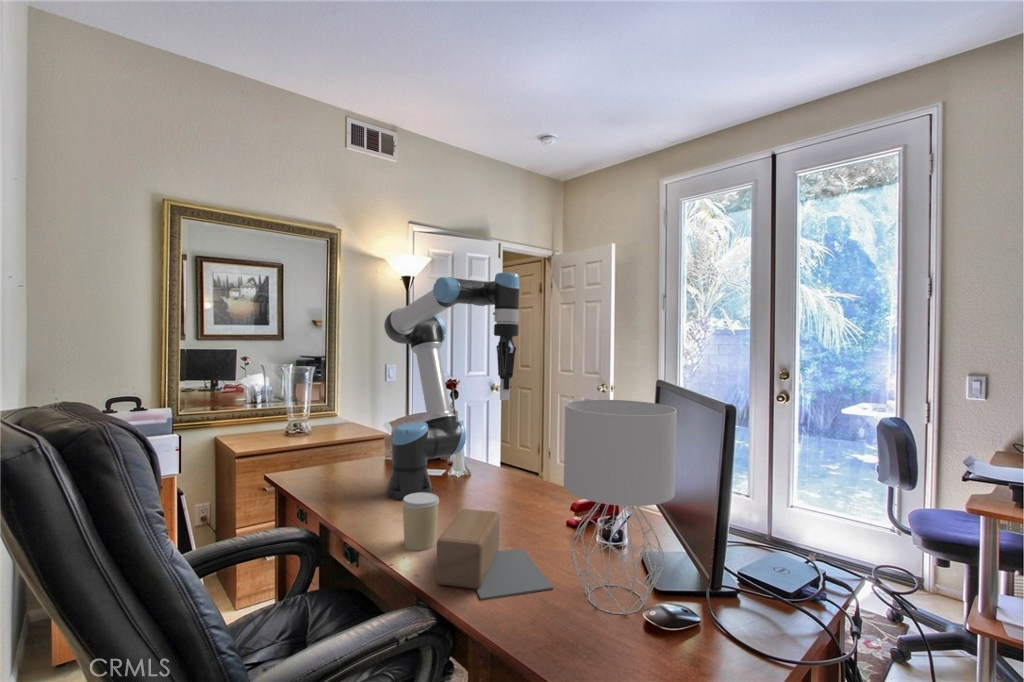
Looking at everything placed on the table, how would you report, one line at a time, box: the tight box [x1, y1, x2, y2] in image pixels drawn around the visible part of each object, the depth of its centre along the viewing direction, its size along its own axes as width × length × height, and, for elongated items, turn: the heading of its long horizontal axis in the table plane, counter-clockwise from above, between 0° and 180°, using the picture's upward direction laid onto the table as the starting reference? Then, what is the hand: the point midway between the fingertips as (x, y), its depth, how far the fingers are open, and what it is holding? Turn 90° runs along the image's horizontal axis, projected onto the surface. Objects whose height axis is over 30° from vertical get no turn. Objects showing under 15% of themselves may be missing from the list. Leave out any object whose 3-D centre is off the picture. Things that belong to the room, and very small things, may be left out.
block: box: [435, 508, 500, 590], centre depth 113 cm, size 10×10×20 cm
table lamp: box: [563, 399, 678, 616], centre depth 101 cm, size 22×22×40 cm
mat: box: [475, 547, 554, 601], centre depth 112 cm, size 20×16×1 cm
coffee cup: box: [401, 492, 440, 551], centre depth 126 cm, size 9×9×12 cm
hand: (504, 399), depth 151 cm, fingers closed
